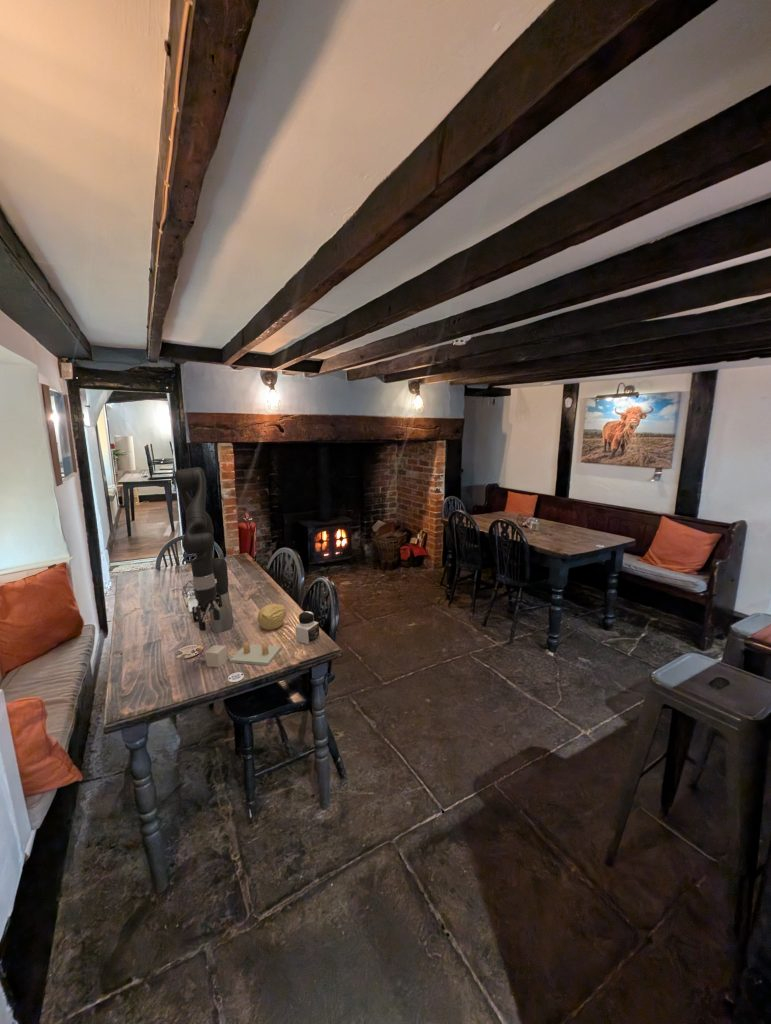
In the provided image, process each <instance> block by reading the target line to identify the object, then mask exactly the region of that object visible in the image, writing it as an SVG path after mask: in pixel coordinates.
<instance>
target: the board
mask: <svg viewBox="0 0 771 1024" xmlns="http://www.w3.org/2000/svg"><path fill="white" fill-rule="evenodd" d="M282 650H283V649H282V646H280V645H279V646H278V645H268V642H263V643H262V644H253V643H252V644H251V643H250V642H249V641H245V642H243V643H242V647H241V649H239V650H238V651H237V652H236V653H235V654H234V655H233V656H232V657H231V658H230V659H229V662H230V663H231V664H242V665H255V666H266V667H267V666H270V664H271V663H272V662H273V660H274V659H275V658H276V657H277V655H278V654H279V653H280V652H281V651H282Z"/></svg>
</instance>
